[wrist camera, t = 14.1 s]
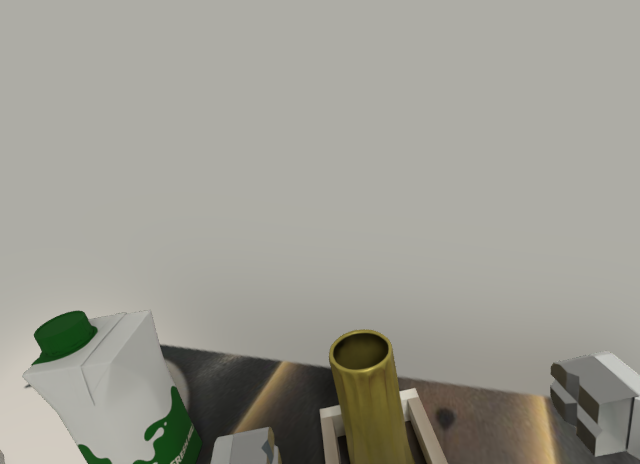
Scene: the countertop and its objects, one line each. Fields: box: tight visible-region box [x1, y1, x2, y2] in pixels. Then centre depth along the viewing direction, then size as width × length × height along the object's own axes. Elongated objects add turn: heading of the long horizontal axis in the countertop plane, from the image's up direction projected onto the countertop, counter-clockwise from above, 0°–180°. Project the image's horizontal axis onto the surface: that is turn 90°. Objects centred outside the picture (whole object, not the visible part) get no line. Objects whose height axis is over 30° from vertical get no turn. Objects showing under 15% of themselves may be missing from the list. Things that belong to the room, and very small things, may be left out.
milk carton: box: [22, 310, 202, 464], centre depth 37 cm, size 9×9×20 cm
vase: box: [329, 330, 415, 464], centre depth 34 cm, size 6×6×14 cm
